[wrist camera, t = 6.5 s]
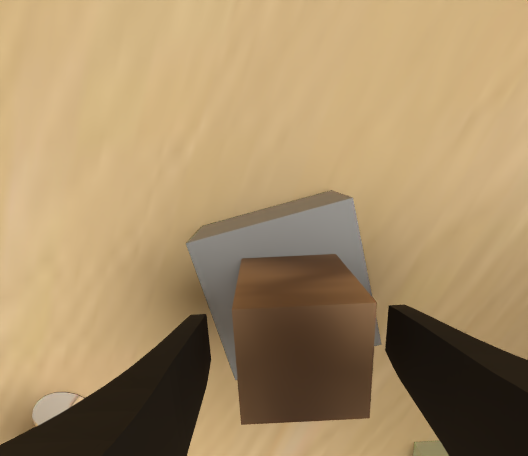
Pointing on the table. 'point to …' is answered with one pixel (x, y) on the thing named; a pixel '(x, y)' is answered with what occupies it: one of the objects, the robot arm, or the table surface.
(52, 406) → the wineglass
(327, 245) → the grey square block
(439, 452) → the sage-green block
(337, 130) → the table surface
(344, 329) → the walnut block
